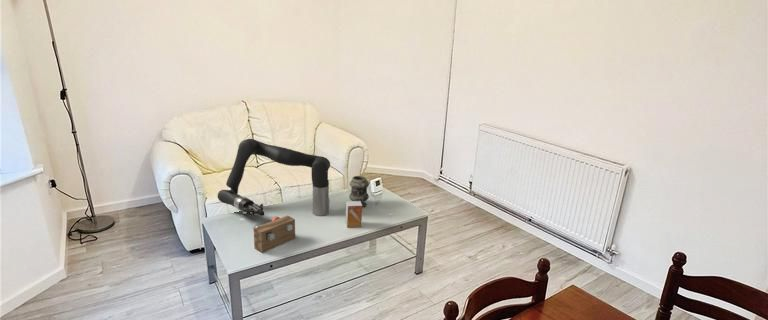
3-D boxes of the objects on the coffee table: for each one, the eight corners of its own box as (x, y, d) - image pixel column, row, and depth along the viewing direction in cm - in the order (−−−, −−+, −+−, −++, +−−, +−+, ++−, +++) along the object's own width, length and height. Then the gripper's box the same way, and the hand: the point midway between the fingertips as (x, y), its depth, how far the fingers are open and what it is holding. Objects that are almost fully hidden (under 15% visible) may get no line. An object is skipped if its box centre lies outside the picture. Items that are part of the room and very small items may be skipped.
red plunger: (271, 225, 214) (271, 217, 212) (278, 222, 217) (278, 215, 216) (287, 233, 207) (286, 225, 205) (294, 230, 210) (293, 222, 209)
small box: (347, 227, 228) (347, 206, 224) (345, 222, 234) (346, 201, 230) (361, 227, 230) (362, 205, 226) (359, 222, 236) (360, 200, 232)
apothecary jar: (359, 199, 266) (361, 173, 261) (372, 206, 258) (373, 178, 253) (344, 204, 258) (345, 176, 253) (357, 210, 250) (358, 182, 245)
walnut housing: (254, 248, 202) (253, 228, 199) (287, 234, 218) (287, 215, 214) (262, 253, 199) (261, 232, 196) (295, 238, 214) (294, 219, 211)
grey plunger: (253, 234, 204) (253, 226, 202) (261, 231, 207) (260, 223, 206) (268, 243, 197) (268, 234, 195) (276, 240, 200) (276, 231, 199)
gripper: (232, 201, 225) (252, 211, 215) (254, 195, 235) (273, 204, 225) (233, 214, 227) (252, 224, 217) (254, 207, 237) (273, 216, 227)
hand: (263, 214), depth 221 cm, fingers closed
